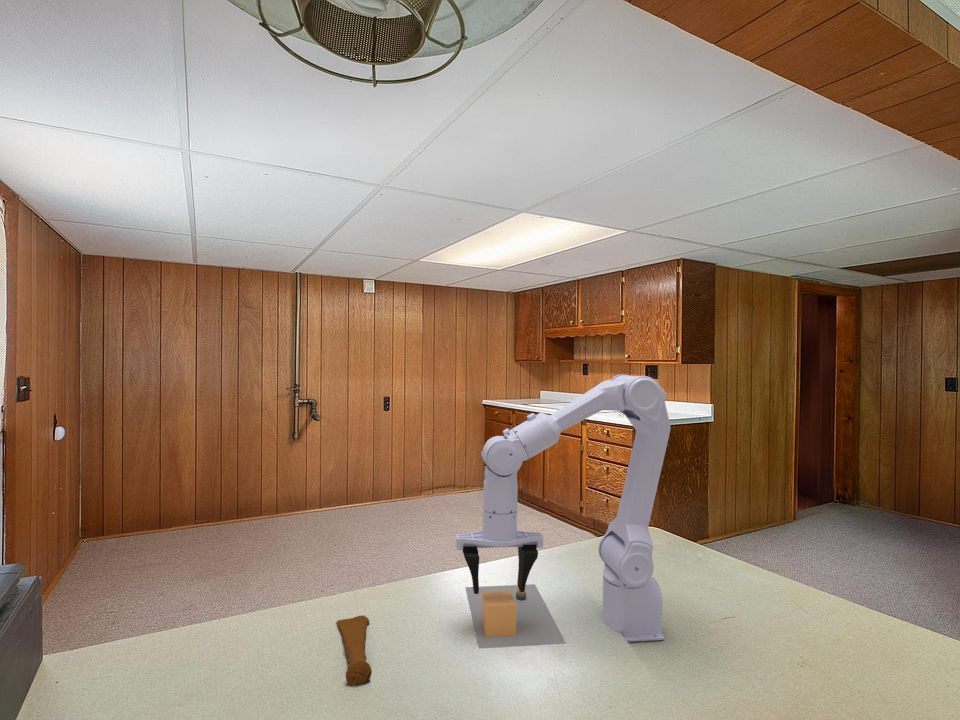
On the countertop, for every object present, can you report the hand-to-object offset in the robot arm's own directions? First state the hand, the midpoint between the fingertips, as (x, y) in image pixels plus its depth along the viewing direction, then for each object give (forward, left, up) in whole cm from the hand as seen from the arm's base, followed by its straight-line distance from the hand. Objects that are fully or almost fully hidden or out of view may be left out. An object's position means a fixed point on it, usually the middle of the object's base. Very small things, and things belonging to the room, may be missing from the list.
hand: (498, 590), depth 85 cm
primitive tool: (+24, +1, -9) cm, 25 cm away
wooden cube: (0, 0, -6) cm, 6 cm away
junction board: (-3, -5, -8) cm, 10 cm away
